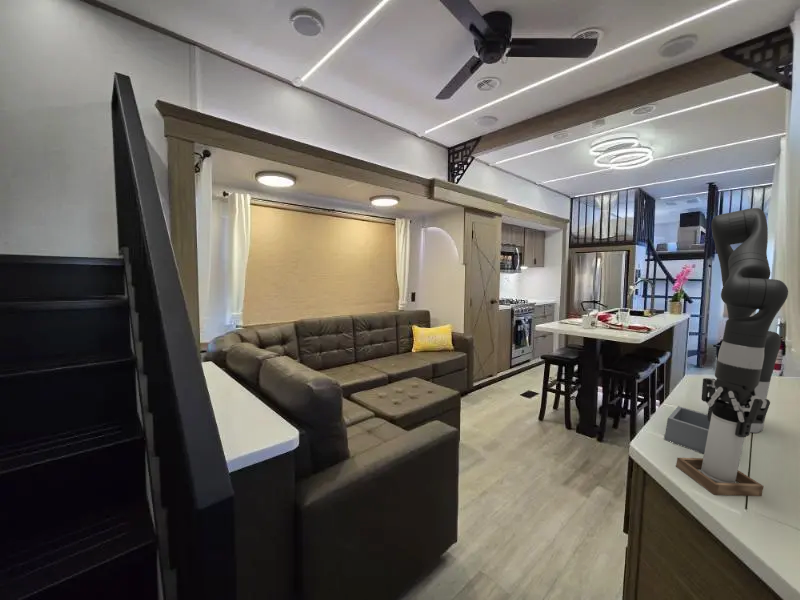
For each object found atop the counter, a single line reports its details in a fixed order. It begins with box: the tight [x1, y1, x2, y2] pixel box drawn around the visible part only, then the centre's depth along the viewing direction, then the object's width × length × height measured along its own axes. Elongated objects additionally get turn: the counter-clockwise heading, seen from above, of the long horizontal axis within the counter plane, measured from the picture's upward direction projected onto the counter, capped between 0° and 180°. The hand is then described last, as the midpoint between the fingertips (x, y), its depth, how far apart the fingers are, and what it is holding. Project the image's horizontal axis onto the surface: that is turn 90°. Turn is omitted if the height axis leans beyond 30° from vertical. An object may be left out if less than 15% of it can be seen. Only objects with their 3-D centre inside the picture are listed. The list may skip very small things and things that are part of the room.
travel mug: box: [700, 401, 747, 483], centre depth 83 cm, size 6×7×20 cm
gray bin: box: [663, 405, 710, 455], centre depth 102 cm, size 14×14×7 cm
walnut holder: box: [675, 457, 765, 497], centre depth 85 cm, size 12×11×2 cm
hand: (726, 428), depth 83 cm, fingers closed on travel mug, 6 cm apart
